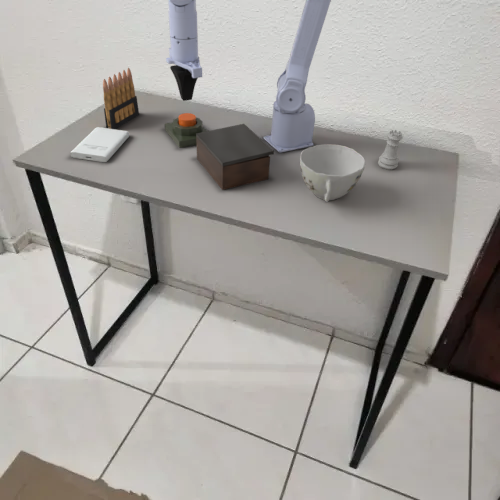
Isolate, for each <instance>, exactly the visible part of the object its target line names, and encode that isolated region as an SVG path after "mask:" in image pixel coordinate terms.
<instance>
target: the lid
mask: <svg viewBox="0 0 500 500" xmlns="http://www.w3.org/2000/svg"><path fill="white" fill-rule="evenodd" d="M196 137H197V138H198V139H199V140H200V142H201V143H202V144H203V145H204V146H205V147H206V148H207V149H208V151H209V152H210V153H211V154H212V155H213V156H214V157H215V158H216V159H217V161H218V162H219V163H220V164H221V165H222V166H227V165H231V164H235V163H240V162H244V161H248V160H252V159H256V158H260V157H265V156H272V155H275V150H274V149H273V148H271V146H270V145H268V143H267V142H265V140H264V139H262V138H260V136H258V135H257V134H256V132H254V131H253V130H251V128H250V127H249V126H247V124H245V123H240V124H236V125H231V126H226V127H221V128H217V129H211V130H207V131H206V132H201V133H197V134H196Z"/></svg>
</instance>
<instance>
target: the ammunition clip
mask: <svg viewBox="0 0 500 500" xmlns="http://www.w3.org/2000/svg"><path fill="white" fill-rule="evenodd" d="M132 74H133V73H132V70H131V69H130V67H128V68H127V70H126V69H123V70H122V73H121V72H120V71H118V73H117V75H116V73H114V74H113V76H112V78H111V76H108V78H107V80H108V81H107V80H106V79H105V78H103V80H102V89H103V103H104V108H103V114H104V120H105V128H108V129H115V130H117V129H118V128H120V127H121V126H123V125H125V124H127V123H128V122H130V121H131V120H133V119H135V118H136V117H138V116H140V110H139V106H138V105H139V103H138V96H137V95H136V91H135V84H134V80H133V75H132Z"/></svg>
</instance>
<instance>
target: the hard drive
mask: <svg viewBox="0 0 500 500" xmlns="http://www.w3.org/2000/svg"><path fill="white" fill-rule="evenodd" d="M129 137H130V132H129V131H128V130H121V129H108V128H106V127H101V126H100V127H99V126H96V127H95V128H94V129H92V131H90V133H88V135H86V136H85V137H84V139H82V140H81V142H79V143H78V144H77V145H76V146H75V147H74V148H73V149H72V150H71V151H70V152H69V153H70V157H71V158H72V159H73V158H74V159H78V160H79V159H80V160H84V161H91V162H98V163H99V162H100V163H107V162H108V161H109V160H110V159H111V158H112V157H113V155H114V154H115V153H116V152H117V151H118V150H119V149H120V148H121V146H122V145H123V144H125V142H126V141H127V139H128V138H129Z"/></svg>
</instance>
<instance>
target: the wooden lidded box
mask: <svg viewBox="0 0 500 500" xmlns="http://www.w3.org/2000/svg"><path fill="white" fill-rule="evenodd" d="M196 142H197V145H196V160H197V161H198V162H199V164H200V165H201V166H202V167H203V168H204V170H205V171H206V172H207V173H208V175H210V177H211V178H212V179H213V180H214V182H215V183H216V184H217V185H218V187H219V188H220V189H221V190H222V191H224V190H228V189H233V188H237V187H241V186H246V185H250V184H254V183H258V182H262V181H266V180H269V176H270V164H271V155H269V156H265V157H260V158H256V159H252V160H248V161H244V162H240V163H235V164H231V165H227V166H222V165H221V164H220V163H219V162H218V161H217V159H216V158H215V157H214V156H213V155H212V154H211V153H210V152H209V151H208V149H207V148H206V147H205V146H204V145H203V144H202V143H201V142H200V140H199V139H198V138H197V137H196Z"/></svg>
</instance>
